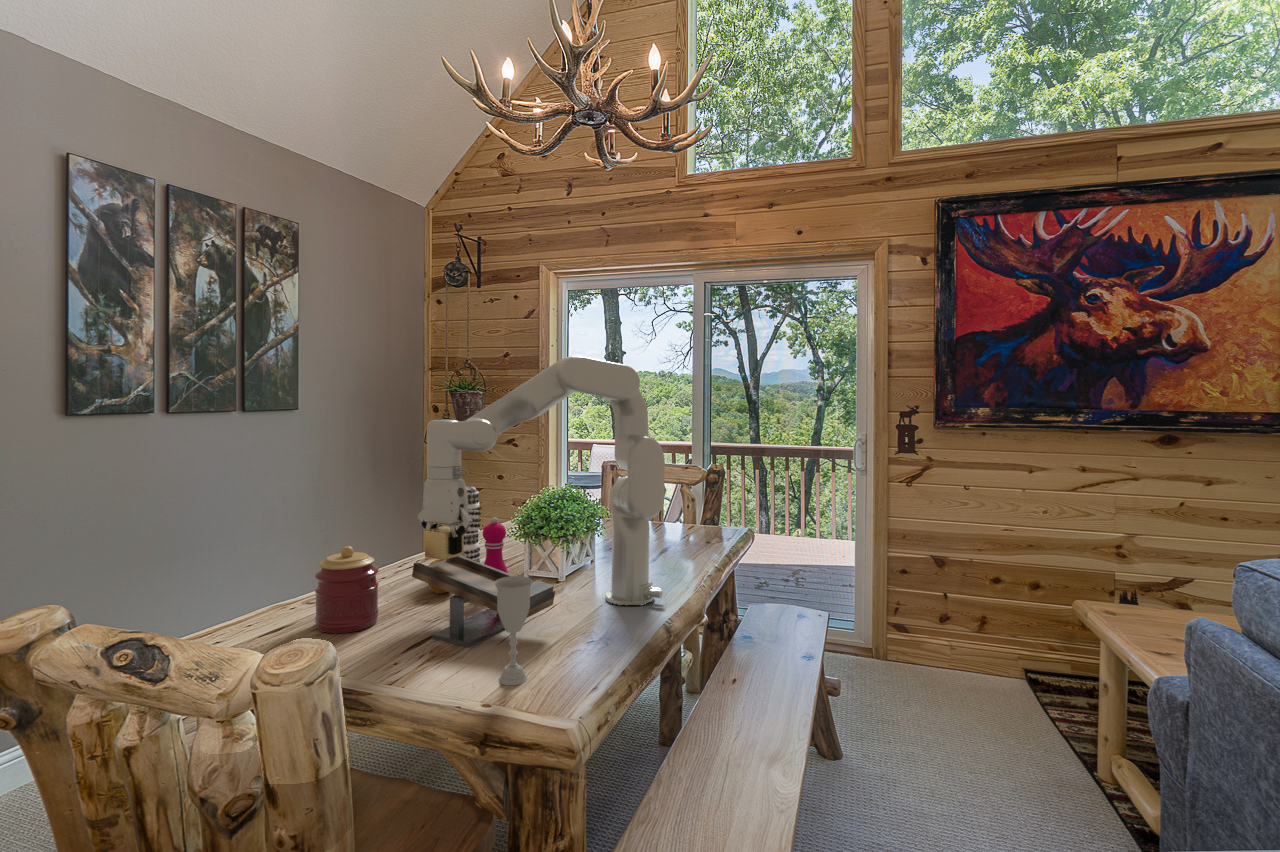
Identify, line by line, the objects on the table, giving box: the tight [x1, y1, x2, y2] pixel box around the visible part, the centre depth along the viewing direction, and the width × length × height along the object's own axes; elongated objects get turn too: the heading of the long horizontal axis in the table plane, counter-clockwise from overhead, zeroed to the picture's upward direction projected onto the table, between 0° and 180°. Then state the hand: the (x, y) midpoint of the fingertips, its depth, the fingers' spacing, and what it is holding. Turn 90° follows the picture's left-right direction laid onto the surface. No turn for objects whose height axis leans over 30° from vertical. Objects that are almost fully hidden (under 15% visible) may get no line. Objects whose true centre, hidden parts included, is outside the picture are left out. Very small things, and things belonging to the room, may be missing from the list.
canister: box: [314, 545, 380, 634], centre depth 143 cm, size 13×13×18 cm
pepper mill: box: [482, 517, 509, 573], centre depth 167 cm, size 7×7×20 cm
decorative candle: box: [456, 485, 483, 563], centre depth 187 cm, size 9×9×25 cm
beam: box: [411, 555, 556, 619], centre depth 141 cm, size 30×13×6 cm, turn 65°
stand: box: [431, 594, 505, 648], centre depth 142 cm, size 10×20×9 cm, turn 154°
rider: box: [424, 525, 464, 560], centre depth 146 cm, size 6×6×6 cm
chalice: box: [495, 575, 534, 686], centre depth 116 cm, size 7×7×18 cm
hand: (444, 551), depth 146 cm, fingers closed on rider, 6 cm apart
